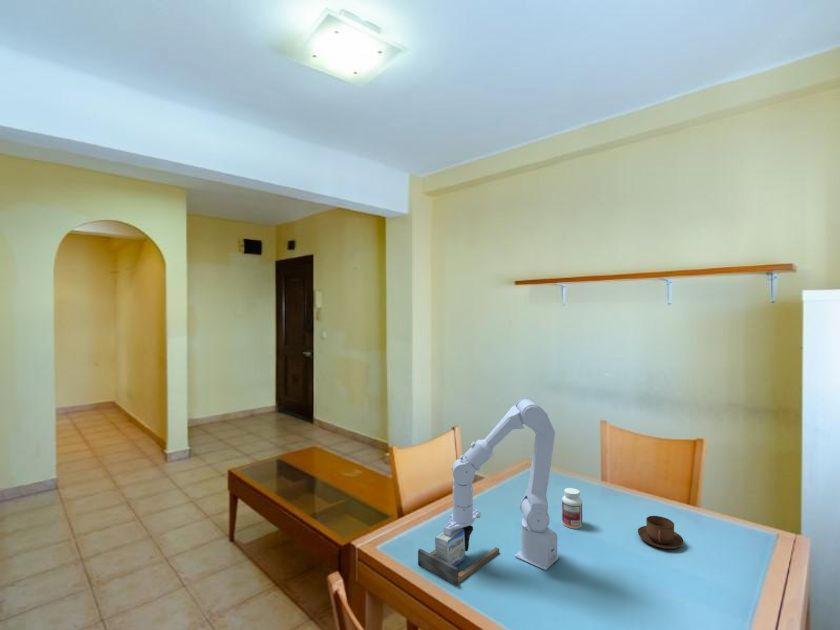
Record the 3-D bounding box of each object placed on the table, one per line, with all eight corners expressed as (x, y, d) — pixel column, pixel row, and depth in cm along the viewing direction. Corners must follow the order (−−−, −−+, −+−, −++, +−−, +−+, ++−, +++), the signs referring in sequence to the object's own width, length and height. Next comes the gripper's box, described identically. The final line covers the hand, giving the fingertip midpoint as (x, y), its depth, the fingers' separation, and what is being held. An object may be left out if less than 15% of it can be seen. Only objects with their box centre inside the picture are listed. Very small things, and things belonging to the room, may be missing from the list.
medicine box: (448, 573, 114) (447, 541, 114) (435, 566, 117) (434, 536, 117) (465, 559, 120) (464, 528, 120) (453, 553, 123) (452, 523, 123)
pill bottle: (568, 517, 144) (568, 485, 144) (586, 525, 140) (586, 491, 139) (558, 523, 140) (558, 490, 140) (575, 531, 136) (575, 496, 135)
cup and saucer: (690, 555, 123) (690, 533, 122) (644, 550, 125) (644, 529, 125) (674, 533, 134) (674, 514, 134) (632, 529, 137) (632, 510, 137)
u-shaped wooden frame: (499, 552, 124) (499, 539, 124) (456, 585, 109) (455, 569, 109) (462, 536, 133) (462, 523, 133) (417, 564, 118) (417, 550, 118)
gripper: (466, 491, 130) (466, 535, 130) (435, 507, 120) (435, 555, 120) (486, 498, 125) (486, 544, 125) (455, 515, 115) (455, 566, 115)
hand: (462, 550), depth 122 cm, fingers closed
